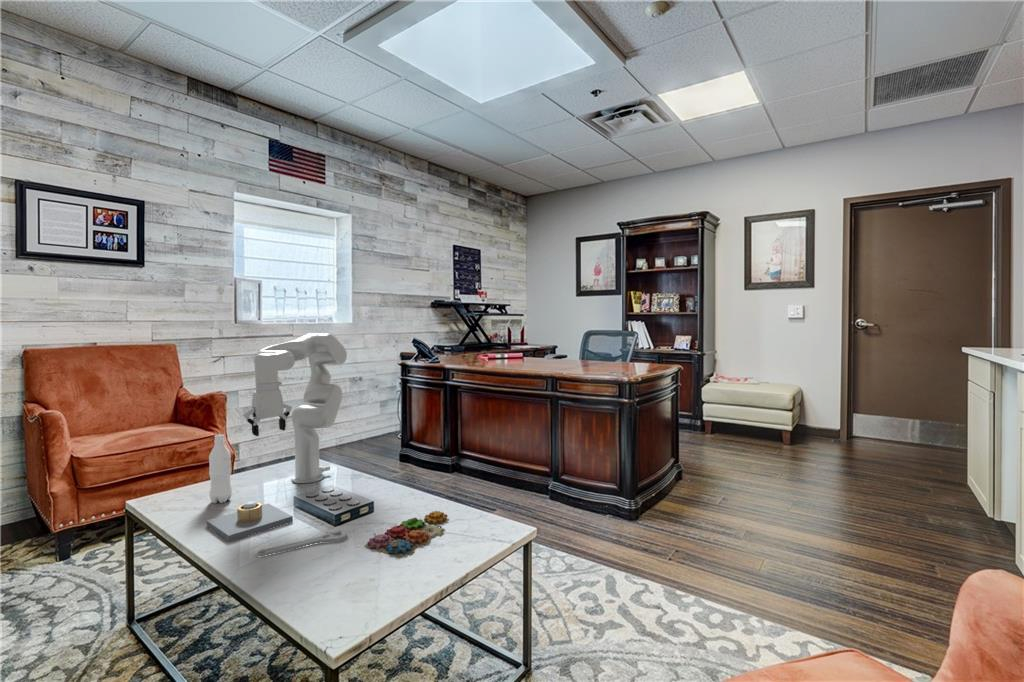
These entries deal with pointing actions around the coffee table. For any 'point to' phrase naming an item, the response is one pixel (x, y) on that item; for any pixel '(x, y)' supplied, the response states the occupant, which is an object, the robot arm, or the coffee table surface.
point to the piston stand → (234, 529)
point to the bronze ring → (249, 513)
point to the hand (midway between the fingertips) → (269, 432)
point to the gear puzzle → (408, 535)
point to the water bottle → (220, 471)
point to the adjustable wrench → (305, 543)
